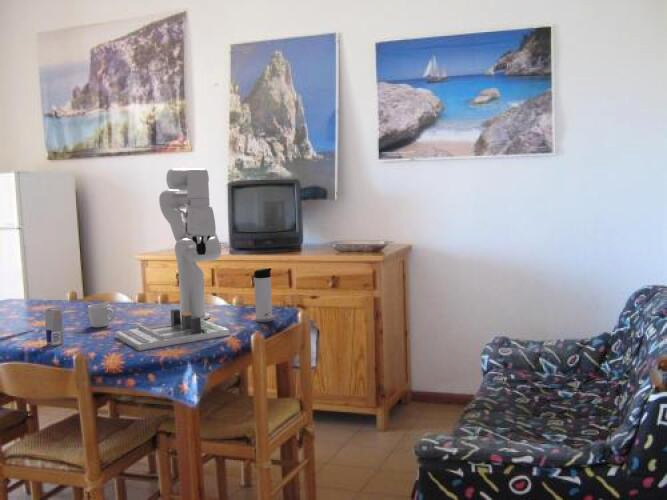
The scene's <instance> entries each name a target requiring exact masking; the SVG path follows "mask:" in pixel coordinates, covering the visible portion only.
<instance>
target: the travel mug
mask: <svg viewBox="0 0 667 500" xmlns="http://www.w3.org/2000/svg"><path fill="white" fill-rule="evenodd" d="M271 271H272V267H269V268H262V269H256V270H254V272H253V276H254V277H253V279H254V280H253V281H254V303H255V304H254V305H255V321H256V323H269V322H272V321H273V300H272V299H273V298H272V297H273V296H272V277H271V276H272V275H271Z"/></svg>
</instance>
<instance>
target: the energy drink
mask: <svg viewBox="0 0 667 500" xmlns="http://www.w3.org/2000/svg"><path fill="white" fill-rule="evenodd" d="M44 321H45V323H44V325H45V337H46V345H47V346H48V347H57V346H62V345H63V344H65V339H64V338H65V337H64V325H63V311H62V308H61V307H51V308H46V309H44Z"/></svg>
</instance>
